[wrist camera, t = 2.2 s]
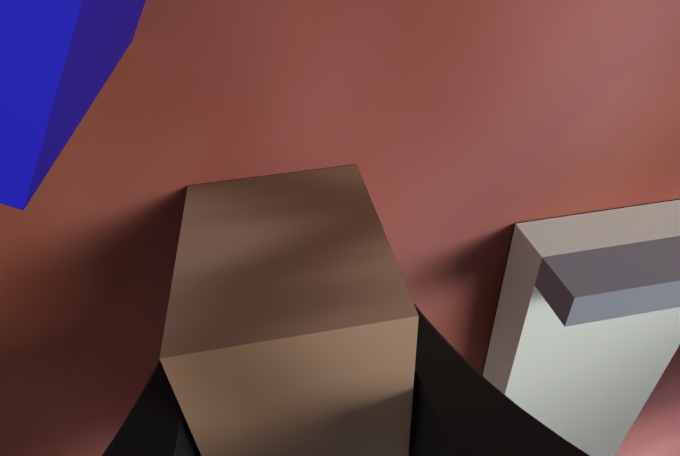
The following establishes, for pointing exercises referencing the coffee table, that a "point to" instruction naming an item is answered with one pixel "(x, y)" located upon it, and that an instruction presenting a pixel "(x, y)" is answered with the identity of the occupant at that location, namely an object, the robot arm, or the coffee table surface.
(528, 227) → the rail
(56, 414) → the coffee table surface
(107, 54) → the cable clip
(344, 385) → the tan cardboard box
